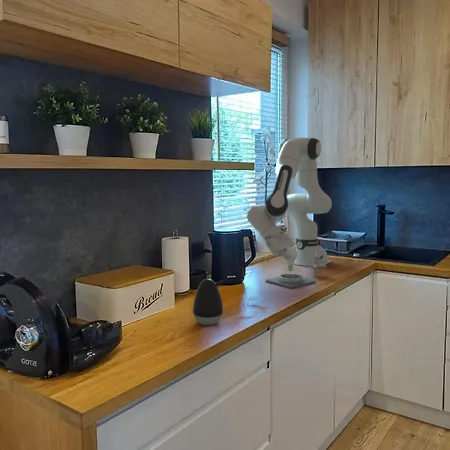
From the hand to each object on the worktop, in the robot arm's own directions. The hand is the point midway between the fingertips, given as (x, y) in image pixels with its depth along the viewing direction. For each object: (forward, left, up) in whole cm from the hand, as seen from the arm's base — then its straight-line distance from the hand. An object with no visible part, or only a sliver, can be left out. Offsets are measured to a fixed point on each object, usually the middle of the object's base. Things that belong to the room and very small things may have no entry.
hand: (291, 257), depth 207 cm
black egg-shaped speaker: (+63, +20, -12) cm, 67 cm away
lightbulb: (+1, 0, -6) cm, 6 cm away
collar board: (0, -1, -12) cm, 12 cm away
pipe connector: (-19, -2, -12) cm, 22 cm away
